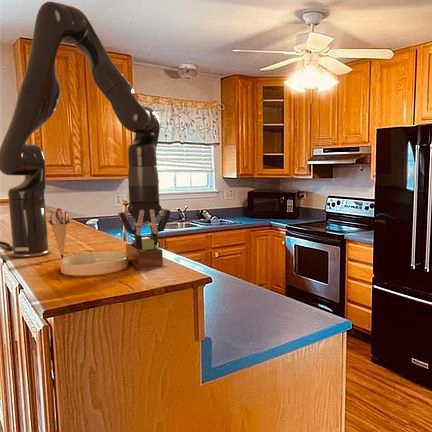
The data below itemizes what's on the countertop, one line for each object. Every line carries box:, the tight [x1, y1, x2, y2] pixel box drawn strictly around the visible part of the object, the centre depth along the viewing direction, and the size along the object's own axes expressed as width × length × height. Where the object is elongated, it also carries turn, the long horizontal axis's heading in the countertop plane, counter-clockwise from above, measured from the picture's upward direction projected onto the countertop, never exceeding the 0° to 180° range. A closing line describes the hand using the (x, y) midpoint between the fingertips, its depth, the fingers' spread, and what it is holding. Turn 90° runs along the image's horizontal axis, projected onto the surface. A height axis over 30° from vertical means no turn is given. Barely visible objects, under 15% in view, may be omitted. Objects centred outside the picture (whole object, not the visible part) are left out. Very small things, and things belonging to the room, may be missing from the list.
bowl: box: [59, 250, 130, 276], centre depth 111 cm, size 16×16×3 cm
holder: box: [125, 242, 164, 270], centre depth 116 cm, size 14×6×5 cm, turn 34°
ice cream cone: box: [48, 207, 72, 259], centre depth 121 cm, size 6×6×15 cm
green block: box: [142, 237, 154, 250], centre depth 113 cm, size 4×3×2 cm
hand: (146, 247), depth 113 cm, fingers closed on green block, 3 cm apart
